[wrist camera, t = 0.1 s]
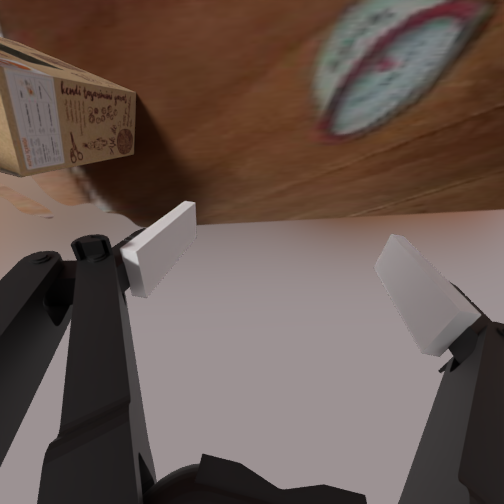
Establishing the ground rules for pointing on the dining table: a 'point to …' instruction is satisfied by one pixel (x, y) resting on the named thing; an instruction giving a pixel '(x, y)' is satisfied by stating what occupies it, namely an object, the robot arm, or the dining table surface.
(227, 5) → the dining table surface
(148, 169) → the dining table surface
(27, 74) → the box
